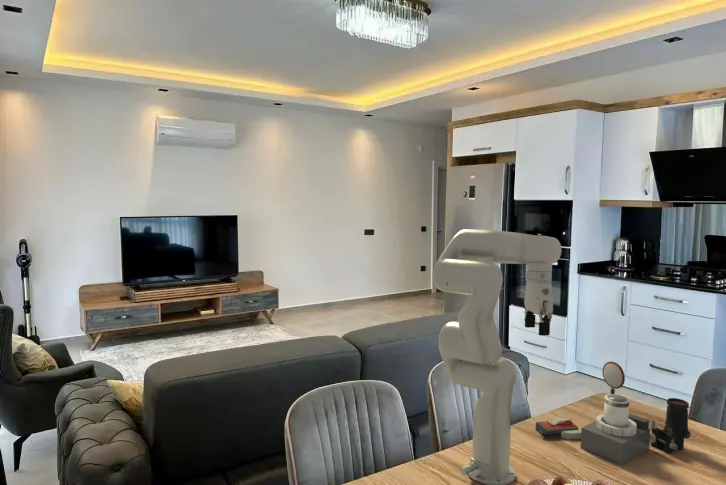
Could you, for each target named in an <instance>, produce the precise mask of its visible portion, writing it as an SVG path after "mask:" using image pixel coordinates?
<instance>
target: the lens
mask: <svg viewBox="0 0 726 485" xmlns="http://www.w3.org/2000/svg"><path fill="white" fill-rule="evenodd" d="M603 405H604V406H603V407H604V408H603V414H604V423H605V424H608V425H610V426H613V427H619V428H628V418H629V414H630V399H629V398H628V397H627V396H624V395H620V394H611V393H608V394H604V404H603Z"/></svg>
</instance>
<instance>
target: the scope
mask: <svg viewBox="0 0 726 485" xmlns="http://www.w3.org/2000/svg"><path fill="white" fill-rule="evenodd" d="M666 404H667V406H666V407H667V408H666V412H665V413H666V414H665V422H664V427H663V429H661V428H658V427H656V419H651V426H650V441H651V442H650V446H651V447H653V448H655V449H658V448H659V450H661V451H664V452H665V454H667V455H670V454H673V452H675V451H683V450H684V448H685V439H689V438H691V436H692V435H691V432H690V430H689V410H688V409H689V407H690V403H689V402H688V401H686V400H684V399H681V398H677V397H676V398H675V397H670V398H667V399H666Z"/></svg>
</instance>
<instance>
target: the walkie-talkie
mask: <svg viewBox="0 0 726 485" xmlns="http://www.w3.org/2000/svg"><path fill="white" fill-rule="evenodd" d="M535 431H536V432H537V433H538V434H540V435H541V437H543V438H544V439H554V438H562V439H565V440H581V430H579V427H578V426H577V425H576V424H575V423H574V422H573V421H572V420H570V418H568V417H556V418H554V419H553V420H550V419H547V420H544V421H536V422H535Z"/></svg>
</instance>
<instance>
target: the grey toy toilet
mask: <svg viewBox="0 0 726 485" xmlns="http://www.w3.org/2000/svg"><path fill="white" fill-rule="evenodd" d="M595 418H596V420H595V421H593V422H591V423H588V424H587V425H585V426H584V425H583V427H581V429H580V432H581V439H580V448H581V449H583V450H586V451H588V452H590V453H593V454H596V455H597V456H600V457H602V458H605V459H606V460H610V461H612V462H614V463H616V464H618V465H621V466H622V465H624V464H626V463H627V462H630V461H631V460H632V459H634V458H636V457H637V456H639V455H640V454H643V453H644V452H646V451H649V449H650V446H651V442H650V441H651V440H650V434H651V427H650V426H649V425H650V420H649V419H647V418H644V417H640V416H638V415H635V414H632V413H629V418H628V428H619V427H613V426H610V425H608V424H605V423H604V413H602V414H599V415H597V416H596V417H595Z"/></svg>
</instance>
